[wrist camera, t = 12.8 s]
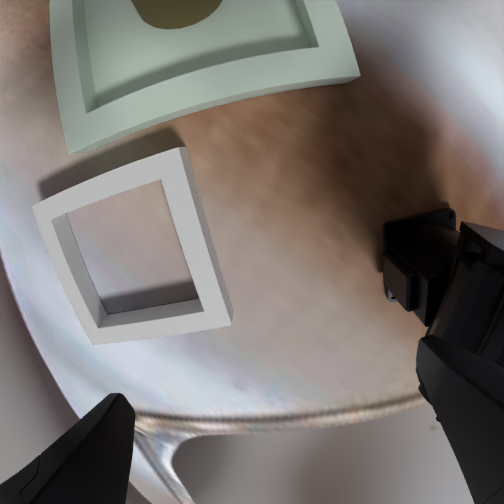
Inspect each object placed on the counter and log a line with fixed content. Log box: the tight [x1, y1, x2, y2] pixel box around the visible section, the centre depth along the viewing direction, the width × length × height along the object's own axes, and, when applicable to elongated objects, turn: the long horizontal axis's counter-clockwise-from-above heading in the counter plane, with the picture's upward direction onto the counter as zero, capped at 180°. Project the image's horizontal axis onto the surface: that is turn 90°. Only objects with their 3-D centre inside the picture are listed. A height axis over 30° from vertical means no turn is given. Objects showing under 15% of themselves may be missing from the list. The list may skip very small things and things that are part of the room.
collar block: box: [32, 147, 233, 345], centre depth 19 cm, size 12×12×2 cm
